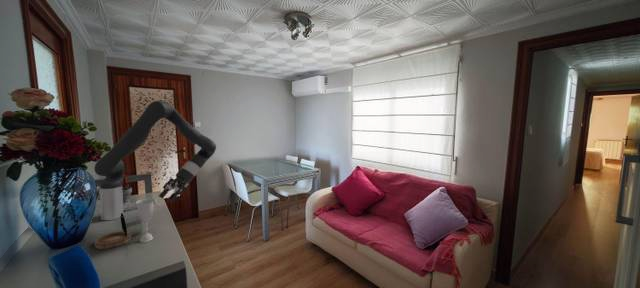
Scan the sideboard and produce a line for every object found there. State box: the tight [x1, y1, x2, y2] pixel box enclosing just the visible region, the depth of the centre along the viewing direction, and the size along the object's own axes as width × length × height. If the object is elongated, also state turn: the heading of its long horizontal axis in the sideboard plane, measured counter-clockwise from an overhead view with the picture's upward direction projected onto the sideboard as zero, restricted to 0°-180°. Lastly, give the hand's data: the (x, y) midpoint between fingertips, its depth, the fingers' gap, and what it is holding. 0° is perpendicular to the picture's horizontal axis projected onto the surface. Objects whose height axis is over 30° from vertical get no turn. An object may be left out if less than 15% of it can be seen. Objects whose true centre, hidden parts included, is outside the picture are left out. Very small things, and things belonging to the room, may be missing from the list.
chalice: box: [135, 198, 156, 243], centre depth 107 cm, size 7×7×18 cm
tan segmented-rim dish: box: [93, 230, 132, 250], centre depth 105 cm, size 12×12×2 cm
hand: (164, 199), depth 113 cm, fingers open, 8 cm apart
